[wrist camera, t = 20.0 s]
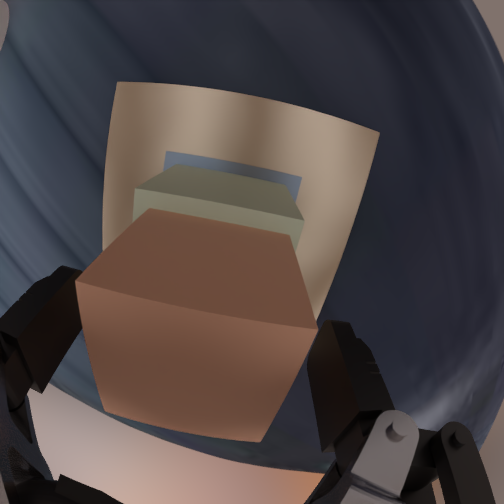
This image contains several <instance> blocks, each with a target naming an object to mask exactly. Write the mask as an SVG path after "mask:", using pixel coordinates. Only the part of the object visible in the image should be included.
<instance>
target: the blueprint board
mask: <svg viewBox="0 0 504 504" xmlns="http://www.w3.org/2000/svg"><path fill="white" fill-rule="evenodd" d="M379 134H380V133H379V132H376V131H374V130H371V129H369V128H366V127H363V126H360V125H357V124H355V123H352V122H349V121H346V120H343V119H340V118H337V117H334V116H330V115H327V114H324V113H320V112H317V111H314V110H310V109H306V108H303V107H299V106H295V105H291V104H287V103H283V102H279V101H275V100H270V99H266V98H261V97H256V96H251V95H246V94H241V93H235V92H229V91H223V90H216V89H209V88H202V87H194V86H184V85H174V84H161V83H144V82H117V87H116V92H115V98H114V103H113V109H112V115H111V122H110V129H109V136H108V144H107V154H106V164H105V177H104V194H103V251H104V250H105V249H106V248H107V247H108V246H109V245H110V244H111V243H112V242H113V241H114V240H115V239H116V238H117V237H118V236H119V235H120V234H121V233H123V232H124V231H125V230H126V229H127V228H128V227H129V226H130V225H131V224H132V221H133V206H134V193H135V188H136V187H138V186H139V185H141V184H143V183H144V182H146V181H148V180H149V179H151V178H153V177H155V176H156V175H158V174H160V173H161V172H163V171H165V170H167V169H168V168H170V167H172V166H174V165H176V164H181V165H187V166H193V167H199V168H205V169H210V170H216V171H221V172H226V173H232V174H237V175H242V176H247V177H252V178H256V179H261V180H266V181H270V182H275V183H279V184H284V185H286V187H287V189H288V190H289V192H290V194H291V196H292V198H293V200H294V201H295V203H296V205H297V207H298V209H299V211H300V213H301V215H302V216H303V218H304V220H305V222H304V225H303V229H302V232H301V236H300V239H299V242H298V246H297V249H296V252H295V254H296V257H297V260H298V264H299V267H300V270H301V273H302V276H303V280H304V283H305V286H306V290H307V293H308V296H309V300H310V303H311V307H312V310H313V313H314V317H315V320H317V318H318V315H319V313H320V310H321V308H322V306H323V303H324V301H325V298H326V296H327V293H328V291H329V288H330V286H331V283H332V281H333V278H334V275H335V273H336V270H337V268H338V265H339V262H340V259H341V257H342V254H343V251H344V248H345V246H346V243H347V240H348V237H349V234H350V231H351V228H352V226H353V223H354V220H355V217H356V213H357V210H358V207H359V204H360V201H361V198H362V195H363V191H364V188H365V185H366V181H367V178H368V175H369V171H370V168H371V164H372V160H373V157H374V153H375V149H376V146H377V142H378V138H379Z"/></svg>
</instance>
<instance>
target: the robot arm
mask: <svg viewBox="0 0 504 504" xmlns="http://www.w3.org/2000/svg"><path fill="white" fill-rule="evenodd" d="M82 273H83V272H82V271H81V270H78V269H74V268H70V267H67V266H60V267H59V268H58V269H57V270H56V271H54V272H53V273H52V274H51V275H50V276H49V277H48V276H47V277H45V278H43V279H41V280H39V281H37V282H35V283H34V284H33V285H32V286H31V287H30V288H29V289H28V290H27V291H26V294H25V293H24V294H23V295H22V296H21V297H20V298H19V301H16V302H15V303H14V304H13V305H12V306H11V307H10V308H9V310H8V311H7V312H6V313H5V314H4V315H3V316H2V317H1V318H0V504H123V503H121V502H119V501H117V500H116V499H114V498H112V497H111V496H109V495H107V494H106V493H104V492H102V491H100V490H97V489H95V488H92V487H89V486H87V485H84V484H82V483H80V482H77V481H75V480H72V479H70V478H68V477H66V476H64V475H62V474H60V476H59V479H58V481H57V480H54V479H53V477H52V474H51V471H50V470H49V467H48V465H47V463H46V461H45V459H44V457H43V456H42V454H41V452H40V449H39V446H38V442H37V438H36V434H35V429H34V425H33V420H32V415H31V410H30V404H29V399H28V396H27V393H28V391H29V389H30V388H31V389H33V390H35V391H37V392H39V393H41V394H42V393H43V391H44V390H45V388H46V386H47V384H48V383H49V381H50V379H51V377H52V376H53V374H54V372H55V371H56V369H57V367H58V366H59V364H60V362H61V361H62V359H63V357H64V356H65V354H66V353H67V351H68V349H69V348H70V346H71V345H72V343H73V342H74V340H75V339H76V337H77V335H78V334H79V332H80V331H81V329H82V328H83V327H82V322H81V317H80V311H79V305H78V298H77V291H76V284H75V280H76V279H77V278H78V277H79V276H80V275H81V274H82ZM375 362H376V361H375V359H374V357H373V354H372V352H371V350H370V349H369V347H368V346H367V345H366V344H365V343H364V342H363V341H362V340H361V339H359V338H356V336H355V334H354V331H353V329H352V327H351V325H350V323H349V322H342V321H334V320H326V321H325V322H324V323H323V325H322V327H321V330H320V332H319V334H318V336H317V338H316V340H315V343H314V345H313V347H312V349H311V351H310V353H309V357H308V362H307V371H308V377H309V382H310V387H311V393H312V398H313V404H314V409H315V415H316V420H317V426H318V432H319V438H320V444H321V450H322V452H335V455H336V459H335V460H334V461H333V463H332V464H331V466H330V467H329V469H328V470H327V472H326V473H325V475H324V476H323V478H322V479H321V481H320V482H319V484H318V485H317V487H316V488H315V489H314V491H313V492H312V494H311V495H310V496H309V498H308V499H307V500H306V502H305V503H304V504H436V500H435V496H434V492H433V488H432V484H431V483H432V482H433V481H435V480H436V479H438V478H439V480H440V484H441V488H442V492H443V496H444V500H445V504H496V503H495V500H494V496H493V493H492V489H491V486H490V483H489V480H488V477H487V474H486V471H485V468H484V465H483V463H482V460H481V457H480V454H479V452H478V449H477V447H476V444H475V442H474V439H473V437H472V434H471V433H470V431H469V430H468V429H467V427H465V426H464V425H463V424H461V423H459V422H449V423H447V424H446V425H444V426H443V427H442V428H441V429H440V430H439V431H438V432H437V431H430V430H424V429H419V428H418V427H417V425H416V423H415V422H414V420H413V419H412V418H411V417H410V416H408V415H407V414H405V413H403V412H401V411H397V410H395V408H394V405H393V403H392V400H391V398H390V395H389V393H388V390H387V388H386V385H385V383H384V380H383V378H382V376H381V374H379V372H380V371H379V368H378V366H377V364H375Z"/></svg>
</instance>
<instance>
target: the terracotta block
mask: <svg viewBox="0 0 504 504" xmlns="http://www.w3.org/2000/svg"><path fill="white" fill-rule="evenodd" d="M75 284H76V291H77V298H78V305H79V311H80V317H81V322H82V327H83V332H84V337H85V342H86V346H87V351H88V355H89V359H90V363H91V367H92V371H93V374H94V378H95V381H96V385H97V388H98V392H99V395H100V398H101V401H102V404H103V407H104V410H105V411H106V412H109V413H112V414H115V415H118V416H122V417H125V418H128V419H132V420H135V421H139V422H143V423H146V424H150V425H154V426H158V427H162V428H167V429H171V430H176V431H181V432H186V433H191V434H197V435H203V436H209V437H216V438H223V439H231V440H240V441H251V442H261V440H262V438H263V436H264V435H265V433H266V431H267V430H268V428H269V426H270V424H271V423H272V421H273V419H274V417H275V415H276V414H277V412H278V410H279V408H280V406H281V404H282V402H283V401H284V399H285V397H286V395H287V393H288V391H289V389H290V387H291V385H292V383H293V381H294V379H295V377H296V375H297V373H298V371H299V369H300V367H301V365H302V363H303V361H304V359H305V357H306V355H307V353H308V351H309V349H310V347H311V344H312V342H313V340H314V338H315V336H316V334H317V331H318V327H317V324H316V320H315V317H314V313H313V310H312V307H311V303H310V300H309V296H308V293H307V290H306V286H305V283H304V280H303V276H302V273H301V270H300V267H299V264H298V260H297V257H296V254H295V251H294V248H293V245H292V241H291V238H290V235H287V234H282V233H277V232H272V231H268V230H263V229H258V228H253V227H248V226H243V225H238V224H233V223H228V222H222V221H217V220H212V219H207V218H202V217H196V216H191V215H186V214H180V213H175V212H169V211H164V210H158V209H153V208H149V209H147V210H146V211H145V212H144V213H143V214H142V215H141V216H140V217H139V218H137V219H136V220H135V221H134V222H133V223H132V224H131V225H130V226H129V227H128V228H127V229H126V230H125V231H124V232H123V233H121V234H120V235H119V236H118V237H117V238H116V239H115V240H114V241H113V242H112V243H111V244H110V245H109V246H108V247H107V248H106V249H105V250H104V251H103V252H102V253H101V254H100V255H99V256H98V257H97V258H96V259H95V260H94V261H93V262H92V263H91V264H90V265H89V266H88V268H87V269H86V270H85V271H84V272H83V273H82V274H81V275H80V276H79V277H78V278H77V279H76V280H75Z"/></svg>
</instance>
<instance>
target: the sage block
mask: <svg viewBox="0 0 504 504" xmlns="http://www.w3.org/2000/svg"><path fill="white" fill-rule="evenodd" d="M149 208H153V209H158V210H164V211H169V212H175V213H180V214H186V215H191V216H196V217H202V218H207V219H212V220H217V221H222V222H228V223H233V224H238V225H243V226H248V227H253V228H258V229H263V230H268V231H272V232H277V233H282V234H287V235H290V238H291V241H292V245H293V248H294V251H295V252H296V249H297V246H298V242H299V239H300V236H301V232H302V229H303V225H304V222H305V220H304V218H303V216H302V215H301V213H300V211H299V209H298V207H297V205H296V203H295V201H294V200H293V198H292V196H291V194H290V192H289V190H288V189H287V187H286V185H284V184H279V183H275V182H270V181H266V180H261V179H256V178H252V177H247V176H242V175H237V174H232V173H226V172H221V171H216V170H210V169H205V168H199V167H193V166H187V165H181V164H176V165H174V166H172V167H170V168H168V169H167V170H165V171H163V172H161V173H160V174H158V175H156V176H155V177H153V178H151V179H149V180H148V181H146V182H144V183H143V184H141V185H139V186H138V187H136V188H135V193H134V206H133V221H132V223H133V222H134V221H135V220H136V219H137V218H139V217H140V216H141V215H142V214H143V213H144V212H145V211H146V210H147V209H149Z"/></svg>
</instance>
